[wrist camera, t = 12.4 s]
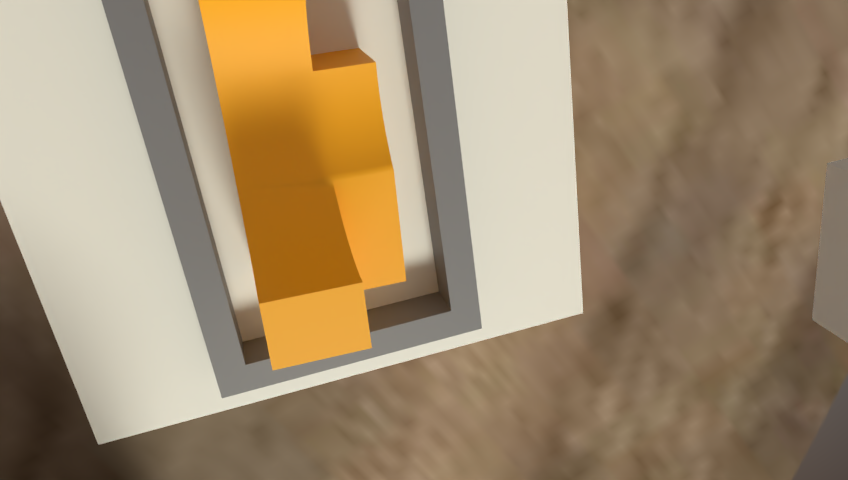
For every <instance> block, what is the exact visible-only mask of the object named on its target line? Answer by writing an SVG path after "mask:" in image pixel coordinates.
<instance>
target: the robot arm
mask: <svg viewBox="0 0 848 480" xmlns="http://www.w3.org/2000/svg"><path fill="white" fill-rule="evenodd" d="M812 320H813V321H815V322H816V323H818V324H820V325H821V326H823V327H824V328H826V329H827V330H829V331H830V332H832V333H833V334H835V335H836V336H838V337H839V338H841V339H842V340H844V341H846V342H847V343H848V158H846V159H842V160H838V161H834V162H830V163H827V171H826V181H825V192H824V202H823V212H822V223H821V233H820V243H819V254H818V264H817V274H816V285H815V295H814V305H813V316H812Z"/></svg>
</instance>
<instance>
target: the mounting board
mask: <svg viewBox="0 0 848 480" xmlns="http://www.w3.org/2000/svg"><path fill="white" fill-rule="evenodd" d="M306 12H307V24H308V34H309V43H310V52H311V55H313V54H320V53H327V52H334V51H341V50H348V49H355V48H360V49H361V50H362V51H363V52H364V53H366V54H367V55H368V56H369V57H370V58H372V59H373V60H374V61H375V62H376V68H377V77H378V86H379V93H380V101H381V107H382V114H383V120H384V125H385V131H386V136H387V141H388V146H389V151H390V156H391V160H392V165H393V169H394V176H395V185H396V194H397V203H398V212H399V220H400V229H401V238H402V247H403V256H404V265H405V274H406V281H404V282H400V283H395V284H390V285H385V286H380V287H376V288H371V289H366V290H364V295H365V302H366V309H367V316H368V323H369V330H370V338H371V345H372V348H370V349H366V350H361V351H357V352H353V353H348V354H344V355H339V356H335V357H330V358H326V359H322V360H317V361H313V362H308V363H304V364H299V365H295V366H291V367H286V368H282V369H277V370H272V366H271V361H270V356H269V351H268V346H267V341H266V337H265V332H264V327H263V322H262V317H261V312H260V307H259V302H258V297H257V291H256V285H255V280H254V274H253V269H252V264H251V258H250V253H249V248H248V242H247V237H246V232H245V227H244V222H243V216H242V211H241V206H240V201H239V196H238V191H237V186H236V181H235V176H234V171H233V166H232V161H231V156H230V151H229V146H228V141H227V136H226V131H225V126H224V121H223V116H222V111H221V106H220V101H219V97H218V92H217V87H216V82H215V77H214V72H213V68H212V63H211V58H210V53H209V48H208V44H207V39H206V34H205V30H204V25H203V20H202V16H201V11H200V6H199V2H198V0H0V201H1V203H2V206H3V208H4V211H5V213H6V216H7V218H8V221H9V223H10V226H11V228H12V231H13V233H14V236H15V238H16V241H17V243H18V246H19V248H20V251H21V253H22V256H23V258H24V261H25V263H26V266H27V268H28V271H29V273H30V276H31V278H32V281H33V283H34V286H35V288H36V291H37V293H38V296H39V298H40V301H41V303H42V306H43V308H44V311H45V313H46V316H47V318H48V321H49V323H50V326H51V328H52V331H53V333H54V336H55V338H56V341H57V343H58V346H59V348H60V351H61V353H62V355H63V358H64V360H65V363H66V365H67V368H68V370H69V373H70V375H71V378H72V380H73V383H74V385H75V388H76V390H77V393H78V395H79V398H80V400H81V403H82V405H83V408H84V410H85V413H86V415H87V418H88V420H89V423H90V425H91V428H92V430H93V433H94V435H95V438H96V440H97V443H98V445H100V444H103V443H107V442H111V441H114V440H118V439H122V438H125V437H129V436H133V435H136V434H140V433H144V432H147V431H151V430H155V429H158V428H162V427H166V426H169V425H173V424H177V423H180V422H184V421H188V420H191V419H195V418H199V417H202V416H206V415H210V414H213V413H217V412H221V411H224V410H228V409H232V408H235V407H239V406H243V405H247V404H250V403H254V402H258V401H261V400H265V399H269V398H272V397H276V396H280V395H283V394H287V393H291V392H294V391H298V390H302V389H305V388H309V387H313V386H316V385H320V384H324V383H327V382H331V381H335V380H338V379H342V378H346V377H349V376H353V375H357V374H360V373H364V372H368V371H371V370H375V369H379V368H382V367H386V366H390V365H393V364H397V363H401V362H404V361H408V360H412V359H415V358H419V357H423V356H427V355H430V354H434V353H438V352H441V351H445V350H449V349H452V348H456V347H460V346H463V345H467V344H471V343H474V342H478V341H482V340H485V339H489V338H493V337H496V336H500V335H504V334H507V333H511V332H515V331H518V330H522V329H526V328H529V327H533V326H537V325H540V324H544V323H548V322H551V321H555V320H559V319H562V318H566V317H570V316H573V315H577V314H581V313H583V303H582V283H581V264H580V245H579V225H578V206H577V187H576V167H575V148H574V128H573V109H572V90H571V70H570V51H569V32H568V12H567V0H306Z"/></svg>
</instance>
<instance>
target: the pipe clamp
mask: <svg viewBox="0 0 848 480" xmlns="http://www.w3.org/2000/svg"><path fill="white" fill-rule="evenodd" d="M198 2H199V6H200V11H201V16H202V20H203V25H204V30H205V34H206V39H207V44H208V48H209V53H210V58H211V63H212V68H213V72H214V77H215V82H216V87H217V92H218V97H219V101H220V106H221V111H222V116H223V121H224V126H225V131H226V136H227V141H228V146H229V151H230V156H231V161H232V166H233V171H234V176H235V181H236V186H237V191H238V196H239V201H240V206H241V211H242V216H243V222H244V227H245V232H246V237H247V242H248V248H249V253H250V258H251V264H252V269H253V274H254V280H255V285H256V291H257V297H258V302H259V307H260V312H261V317H262V322H263V327H264V332H265V337H266V341H267V346H268V351H269V356H270V361H271V366H272V370H277V369H282V368H286V367H291V366H295V365H299V364H304V363H308V362H313V361H317V360H322V359H326V358H330V357H335V356H339V355H344V354H348V353H353V352H357V351H361V350H366V349H370V348H372V345H371V338H370V330H369V323H368V316H367V309H366V302H365V295H364V290H366V289H371V288H376V287H380V286H385V285H390V284H395V283H400V282H404V281H406V274H405V265H404V256H403V247H402V238H401V229H400V220H399V212H398V203H397V194H396V185H395V176H394V169H393V165H392V160H391V156H390V151H389V146H388V141H387V136H386V131H385V125H384V120H383V114H382V107H381V101H380V93H379V86H378V77H377V68H376V62H375V61H374V60H373V59H372V58H370V57H369V56H368V55H367V54H366V53H364V52H363V51H362V50H361V49H360V48H355V49H348V50H341V51H334V52H327V53H320V54H313V55H311V52H310V43H309V34H308V24H307V12H306V0H198Z"/></svg>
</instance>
